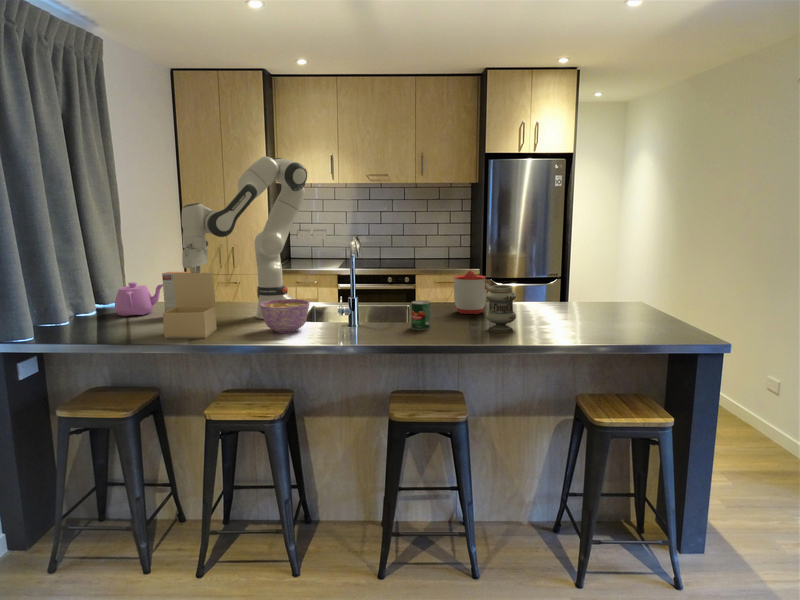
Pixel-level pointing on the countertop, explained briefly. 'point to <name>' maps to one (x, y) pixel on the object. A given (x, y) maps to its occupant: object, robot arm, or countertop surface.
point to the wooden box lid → (194, 289)
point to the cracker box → (169, 290)
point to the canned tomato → (420, 315)
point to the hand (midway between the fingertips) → (196, 277)
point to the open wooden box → (189, 322)
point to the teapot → (135, 300)
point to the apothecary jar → (501, 307)
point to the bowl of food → (285, 314)
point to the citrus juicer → (470, 293)
